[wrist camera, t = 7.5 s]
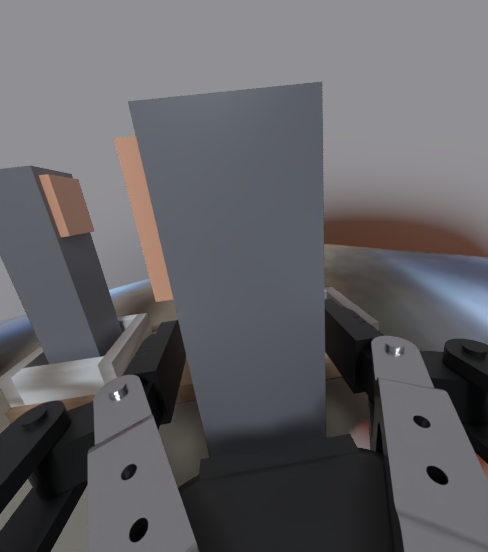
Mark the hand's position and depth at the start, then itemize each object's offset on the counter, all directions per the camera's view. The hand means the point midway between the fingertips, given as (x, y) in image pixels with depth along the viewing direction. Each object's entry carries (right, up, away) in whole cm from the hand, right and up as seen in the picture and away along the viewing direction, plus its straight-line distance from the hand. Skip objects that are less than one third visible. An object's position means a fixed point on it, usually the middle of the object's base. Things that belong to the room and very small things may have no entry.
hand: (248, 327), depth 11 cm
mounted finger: (-14, -5, +10) cm, 18 cm away
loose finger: (+1, -8, 0) cm, 8 cm away
